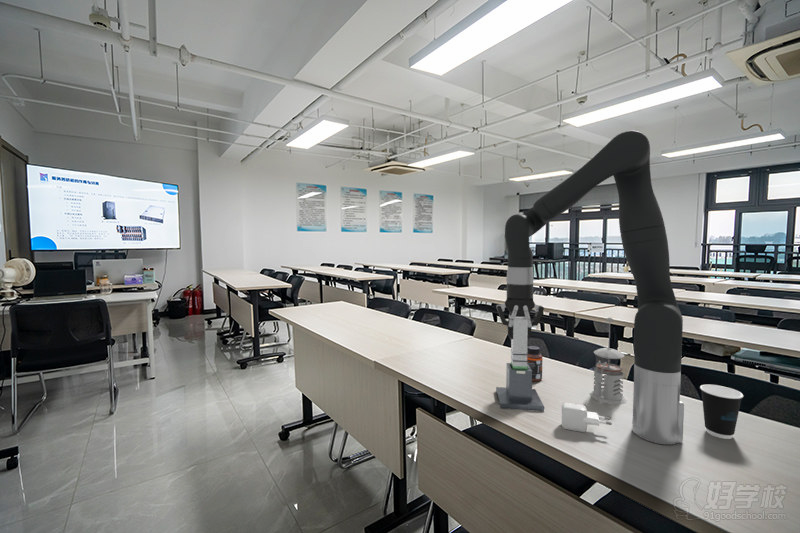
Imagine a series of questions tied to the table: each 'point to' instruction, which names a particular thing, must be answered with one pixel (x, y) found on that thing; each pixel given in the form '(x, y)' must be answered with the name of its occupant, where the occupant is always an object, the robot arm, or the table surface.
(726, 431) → the dixie cup
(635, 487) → the table surface
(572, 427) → the power adapter
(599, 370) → the french press
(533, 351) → the supplement bottle
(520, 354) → the column
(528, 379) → the stand housing
